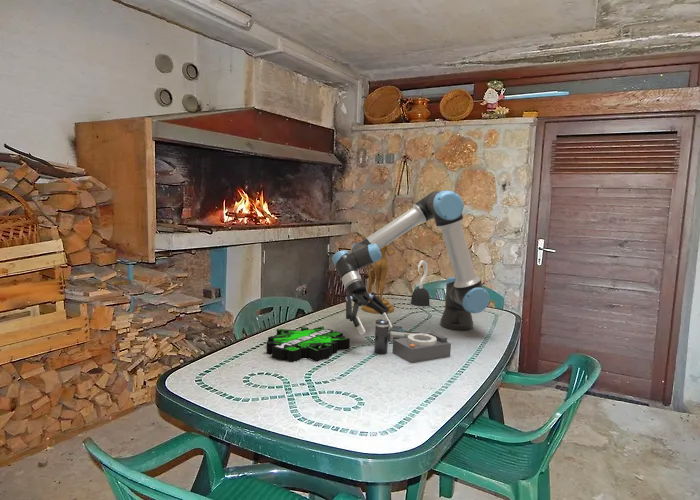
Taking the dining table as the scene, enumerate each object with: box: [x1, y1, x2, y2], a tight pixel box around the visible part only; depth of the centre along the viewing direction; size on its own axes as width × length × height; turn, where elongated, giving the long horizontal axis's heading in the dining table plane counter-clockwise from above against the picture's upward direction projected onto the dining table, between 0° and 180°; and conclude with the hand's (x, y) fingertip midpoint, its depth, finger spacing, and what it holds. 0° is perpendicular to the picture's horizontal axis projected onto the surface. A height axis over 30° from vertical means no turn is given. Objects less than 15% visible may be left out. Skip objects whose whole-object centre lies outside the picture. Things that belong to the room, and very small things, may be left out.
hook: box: [410, 259, 430, 308], centre depth 257 cm, size 11×11×25 cm
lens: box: [373, 319, 390, 355], centre depth 178 cm, size 5×5×12 cm
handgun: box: [388, 325, 430, 343], centre depth 196 cm, size 4×22×15 cm
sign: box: [265, 325, 351, 363], centre depth 180 cm, size 33×4×30 cm
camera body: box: [392, 331, 452, 364], centre depth 177 cm, size 18×12×7 cm, turn 118°
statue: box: [361, 244, 395, 315], centre depth 242 cm, size 17×17×41 cm
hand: (376, 331), depth 178 cm, fingers open, 13 cm apart
